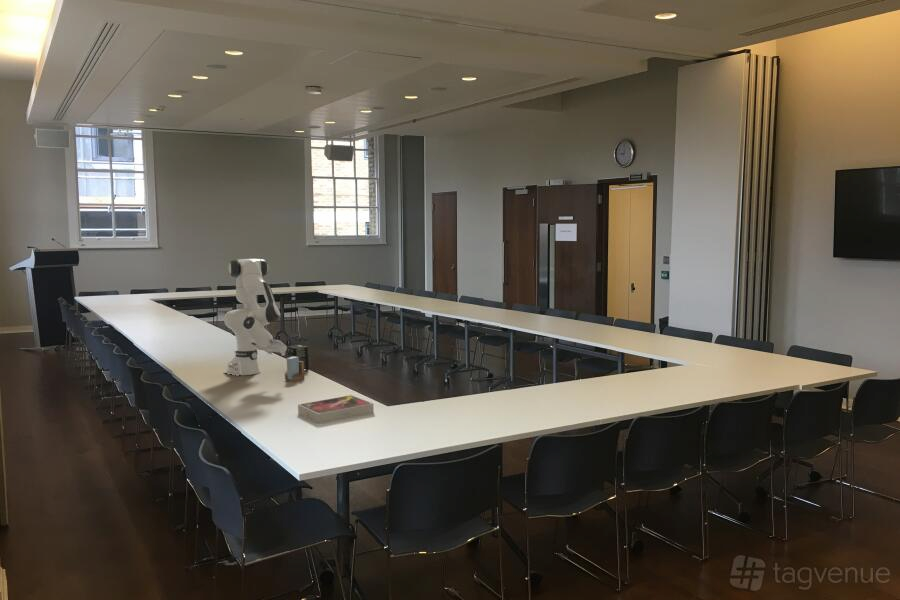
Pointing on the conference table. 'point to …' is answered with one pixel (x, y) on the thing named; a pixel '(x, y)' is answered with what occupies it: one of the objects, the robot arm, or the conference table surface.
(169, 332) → the conference table surface
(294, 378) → the brown wooden holder
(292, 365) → the blue-grey rectangular block
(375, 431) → the conference table surface
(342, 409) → the product packaging
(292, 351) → the tampon box
